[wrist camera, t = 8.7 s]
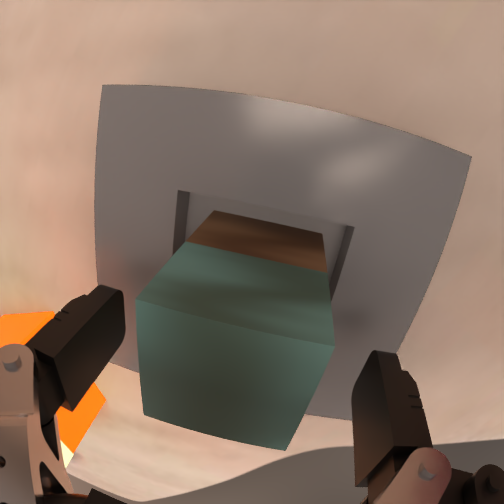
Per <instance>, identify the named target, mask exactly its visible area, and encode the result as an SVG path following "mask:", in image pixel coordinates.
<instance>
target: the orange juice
mask: <svg viewBox="0 0 504 504" xmlns="http://www.w3.org/2000/svg"><path fill="white" fill-rule="evenodd" d="M54 316H55V314H54V312H53V311H50V312H38V313H25V314H11V315H3V316H2V317H1V318H0V348H1V347H2V346H5V345H8V344H13V343H17V344H22V345H25V344H26V343H27V342H28V341H29V340H30V339H31V338H32V337H33V336H34V335H35V334H36V333H37V332H38V331H39V330H40V329H41V328H42V327H43V326H44V325H45V324H46V323H47V322H48V321H49V320H50V319H53V318H54ZM105 401H106V399H105V398H104V396H103V395H102V393H101V392H100V391H99V389H98V388H97V386H96V385H95V383H93V384H92V385H91V387H90V388H89V390H88V391H87V393H86V394H85V395H84V397H83V398H82V400H81V401H80V402H79V404H78V405H77V407H76V408H75V410H74V411H73V412H71V411H69V410H67V409H65V408H63V407H60V408H59V409H58V411H57V412H56V414H57V418H58V426H59V434H60V441H61V448H62V454H63V460H64V465H65V468H66V467H67V465H68V463H69V462H70V460H71V458H72V456H73V455H74V454H73V453H74V452H75V450H76V448H77V447H78V445H79V443H80V442H81V440H82V438H83V437H84V435H85V433H86V432H87V430H88V428H89V427H90V425H91V423H92V422H93V420H94V419H95V417H96V415H97V414H98V412H99V411H100V409H101V407H102V406H103V404H104V403H105Z"/></svg>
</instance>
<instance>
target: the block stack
mask: <svg viewBox="0 0 504 504" xmlns="http://www.w3.org/2000/svg"><path fill="white" fill-rule="evenodd" d="M135 306H136V330H137V347H138V361H139V373H140V384H141V394H142V403H143V411H144V415H146V416H149V417H152V418H155V419H158V420H161V421H164V422H167V423H170V424H173V425H176V426H180V427H183V428H186V429H190V430H193V431H197V432H201V433H204V434H208V435H212V436H216V437H220V438H224V439H228V440H233V441H237V442H241V443H246V444H251V445H256V446H261V447H266V448H272V449H278V450H284V451H286V449H287V447H288V445H289V443H290V441H291V439H292V438H293V436H294V434H295V432H296V430H297V428H298V426H299V424H300V422H301V420H302V418H303V416H304V414H305V412H306V410H307V408H308V406H309V403H310V401H311V399H312V397H313V395H314V393H315V391H316V389H317V386H318V384H319V382H320V380H321V378H322V376H323V373H324V371H325V369H326V367H327V364H328V362H329V360H330V357H331V355H332V353H333V350H334V348H335V340H334V329H333V318H332V308H331V299H330V290H329V281H328V273H327V265H326V257H325V249H324V242H323V235H322V233H318V232H313V231H309V230H305V229H300V228H296V227H291V226H287V225H282V224H278V223H273V222H268V221H264V220H259V219H254V218H250V217H245V216H240V215H235V214H231V213H226V212H221V211H216V210H214V211H213V212H212V213H211V214H210V215H209V216H208V217H207V218H206V219H205V221H204V222H203V223H202V224H201V225H200V226H199V227H198V228H197V229H196V230H195V231H194V233H193V234H192V235H191V236H190V237H189V238H188V239H187V240H186V241H185V243H184V244H183V245H182V246H181V247H180V248H179V249H178V250H177V251H176V253H175V254H174V255H173V256H172V257H171V258H170V259H169V260H168V262H167V263H166V264H165V265H164V266H163V267H162V268H161V270H160V271H159V272H158V273H157V274H156V275H155V276H154V278H153V279H152V280H151V281H150V282H149V283H148V285H147V286H146V287H145V288H144V289H143V290H142V292H141V293H140V294H139V295H138V296H137V298H136V299H135Z"/></svg>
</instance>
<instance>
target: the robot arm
mask: <svg viewBox="0 0 504 504" xmlns="http://www.w3.org/2000/svg"><path fill="white" fill-rule="evenodd" d="M125 332H126V324H125V310H124V295H123V292H122V291H121V290H118V289H115V288H112V287H108V286H105V285H102V284H101V285H98V286H97V287H96V288H95V289H94V290H93V291H92V292H91V293H90V294H88V295H82V296H80V297H78V298H75V299H73V300H71V301H70V302H69V303H68V304H67V305H65V306H64V307H63V308H62V309H61V312H60V311H59V312H58V313H57V314H56V315H55V316H54V318H53V319H50V320H49V321H48V322H47V323H46V324H45V325H44V326H43V327H42V328H41V329H40V330H39V331H38V332H37V333H36V334H35V335H34V336H33V337H32V338H31V339H30V340H29V341H28V342H27V343H26V344H25V345H22V344H17V343H13V344H8V345H5V346H2V347H1V348H0V504H127V503H124V502H122V501H119V500H117V499H115V498H112V497H110V496H108V495H106V494H103V493H101V492H99V491H97V490H95V489H93V488H92V489H91V491H90V493H89V495H82V494H74V491H73V487H72V484H71V481H70V479H69V477H68V474H67V472H66V469H65V465H64V460H63V454H62V448H61V441H60V434H59V426H58V418H57V414H56V412H57V411H58V409H59V408H60V407H63V408H65V409H67V410H69V411H71V412H73V411H74V410H75V408H76V407H77V405H78V404H79V402H80V401H81V400H82V398H83V397H84V395H85V394H86V393H87V391H88V390H89V388H90V387H91V385H92V384H93V383H94V381H95V380H96V379H97V377H98V376H99V374H100V373H101V372H102V370H103V369H104V367H105V366H106V365H107V363H108V362H109V361H110V359H111V358H112V357H113V355H114V354H115V352H116V351H117V350H118V348H119V347H120V346H121V344H122V342H123V340H124V337H125ZM419 397H420V394H419V391H418V387H417V384H416V382H415V381H414V379H413V378H412V377H411V375H410V374H409V372H408V371H403V370H401V366H400V362H399V359H398V356H397V354H396V353H391V352H384V351H378V350H373V351H372V352H371V353H370V355H369V357H368V359H367V361H366V363H365V365H364V367H363V369H362V371H361V373H360V375H359V376H358V378H357V380H356V382H355V384H354V387H353V390H352V396H351V407H352V422H353V439H354V463H355V487H368V495H367V496H366V497H365V498H364V500H363V501H362V502H361V503H360V504H504V471H503V470H502V469H501V468H499V467H498V466H495V465H492V464H488V465H485V466H483V467H481V468H480V469H479V470H478V471H476V472H475V473H474V474H472V473H468V472H464V471H461V470H457V469H453V468H451V465H450V462H449V461H448V459H447V458H446V456H445V455H444V454H443V453H441V452H440V451H438V450H436V449H433V446H432V441H431V437H430V433H429V429H428V425H427V421H426V417H425V413H424V409H422V407H423V405H422V402H421V399H420V398H419Z"/></svg>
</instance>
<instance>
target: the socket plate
mask: <svg viewBox="0 0 504 504" xmlns="http://www.w3.org/2000/svg"><path fill="white" fill-rule="evenodd" d="M471 158H472V157H471V156H469V155H467V154H464V153H462V152H459V151H457V150H454V149H452V148H449V147H447V146H444V145H441V144H439V143H436V142H433V141H431V140H428V139H425V138H422V137H419V136H417V135H414V134H411V133H408V132H405V131H402V130H398V129H395V128H392V127H389V126H386V125H382V124H379V123H376V122H372V121H369V120H365V119H361V118H358V117H354V116H350V115H346V114H343V113H339V112H334V111H330V110H326V109H322V108H317V107H313V106H308V105H303V104H299V103H293V102H288V101H283V100H278V99H272V98H266V97H260V96H254V95H247V94H240V93H232V92H224V91H216V90H207V89H196V88H185V87H171V86H152V85H102V93H101V101H100V110H99V120H98V131H97V145H96V162H95V200H94V212H95V250H96V268H97V282H98V285H101V284H102V285H105V286H108V287H112V288H115V289H118V290H121V291H122V292H123V295H124V310H125V324H126V332H125V337H124V340H123V342H122V344H121V346H120V347H119V348H118V350H117V351H116V352H115V354H114V355H113V357H112V358H111V359H110V361H109V362H110V363H113V364H116V365H118V366H121V367H124V368H127V369H129V370H132V371H135V372H138V373H139V361H138V347H137V330H136V306H135V299H136V298H137V296H138V295H139V294H140V293H141V292H142V290H143V289H144V288H145V287H146V286H147V285H148V283H149V282H150V281H151V280H152V279H153V278H154V276H155V275H156V274H157V273H158V272H159V271H160V270H161V268H162V267H163V266H164V265H165V264H166V263H167V262H168V260H169V259H170V258H171V257H172V256H173V255H174V254H175V253H176V251H177V250H178V249H179V248H180V247H181V246H182V245H183V244H184V243H185V241H186V240H187V239H188V238H189V237H190V236H191V235H192V234H193V233H194V231H195V230H196V229H197V228H198V227H199V226H200V225H201V224H202V223H203V222H204V221H205V219H206V218H207V217H208V216H209V215H210V214H211V213H212V212H213V211H214V210H216V211H221V212H226V213H231V214H235V215H240V216H245V217H250V218H254V219H259V220H264V221H268V222H273V223H278V224H282V225H287V226H291V227H296V228H300V229H305V230H309V231H313V232H318V233H322V235H323V242H324V249H325V257H326V265H327V273H328V281H329V290H330V299H331V308H332V318H333V329H334V340H335V348H334V350H333V353H332V355H331V357H330V360H329V362H328V364H327V367H326V369H325V371H324V373H323V376H322V378H321V380H320V382H319V384H318V386H317V389H316V391H315V393H314V395H313V397H312V399H311V401H310V403H309V406H308V408H307V410H306V412H305V414H307V415H314V416H321V417H328V418H336V419H344V420H352V407H351V396H352V390H353V387H354V384H355V382H356V380H357V378H358V376H359V375H360V373H361V371H362V369H363V367H364V365H365V363H366V361H367V359H368V357H369V355H370V353H371V352H372V351H373V350H378V351H384V352H391V353H396V352H397V351H398V349H399V347H400V345H401V343H402V341H403V339H404V337H405V335H406V333H407V331H408V329H409V327H410V325H411V323H412V321H413V319H414V317H415V315H416V313H417V311H418V308H419V306H420V304H421V302H422V300H423V297H424V295H425V293H426V291H427V288H428V286H429V284H430V281H431V279H432V277H433V274H434V272H435V269H436V267H437V264H438V262H439V259H440V257H441V254H442V251H443V249H444V246H445V243H446V241H447V238H448V235H449V232H450V229H451V226H452V223H453V220H454V217H455V214H456V211H457V208H458V205H459V202H460V198H461V195H462V192H463V188H464V185H465V181H466V177H467V174H468V170H469V166H470V162H471Z"/></svg>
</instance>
